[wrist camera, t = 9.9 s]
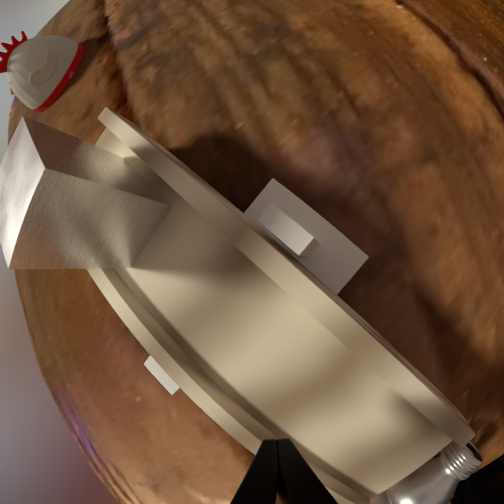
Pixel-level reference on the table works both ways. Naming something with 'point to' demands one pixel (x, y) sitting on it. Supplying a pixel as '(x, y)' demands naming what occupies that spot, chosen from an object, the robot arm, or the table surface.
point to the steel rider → (72, 203)
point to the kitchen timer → (40, 68)
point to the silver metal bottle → (434, 478)
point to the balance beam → (269, 337)
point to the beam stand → (295, 246)
